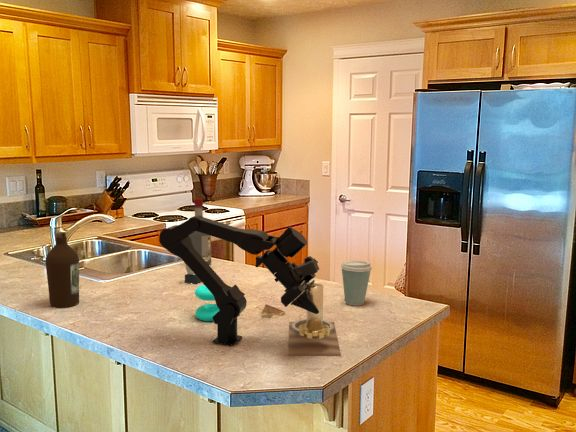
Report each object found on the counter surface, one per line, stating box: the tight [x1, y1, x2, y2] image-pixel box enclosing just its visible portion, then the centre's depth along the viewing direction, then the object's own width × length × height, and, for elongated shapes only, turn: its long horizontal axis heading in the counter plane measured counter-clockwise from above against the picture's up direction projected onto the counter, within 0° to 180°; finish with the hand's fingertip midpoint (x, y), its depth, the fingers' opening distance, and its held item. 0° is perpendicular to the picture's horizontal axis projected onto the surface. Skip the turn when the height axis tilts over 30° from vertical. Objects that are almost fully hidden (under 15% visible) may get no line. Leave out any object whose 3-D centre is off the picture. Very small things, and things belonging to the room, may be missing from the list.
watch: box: [184, 264, 202, 285], centre depth 217 cm, size 6×8×11 cm
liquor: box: [189, 197, 212, 266], centre depth 242 cm, size 9×9×30 cm
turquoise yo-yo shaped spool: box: [194, 284, 220, 322], centre depth 177 cm, size 10×10×10 cm
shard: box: [260, 304, 286, 319], centre depth 182 cm, size 11×8×2 cm
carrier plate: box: [288, 318, 342, 357], centre depth 158 cm, size 26×14×2 cm, turn 0°
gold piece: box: [299, 282, 330, 339], centre depth 150 cm, size 8×8×14 cm
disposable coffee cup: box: [340, 260, 373, 307], centre depth 192 cm, size 11×11×15 cm
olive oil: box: [44, 231, 80, 309], centre depth 188 cm, size 11×11×25 cm
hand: (319, 310), depth 150 cm, fingers closed on gold piece, 4 cm apart
